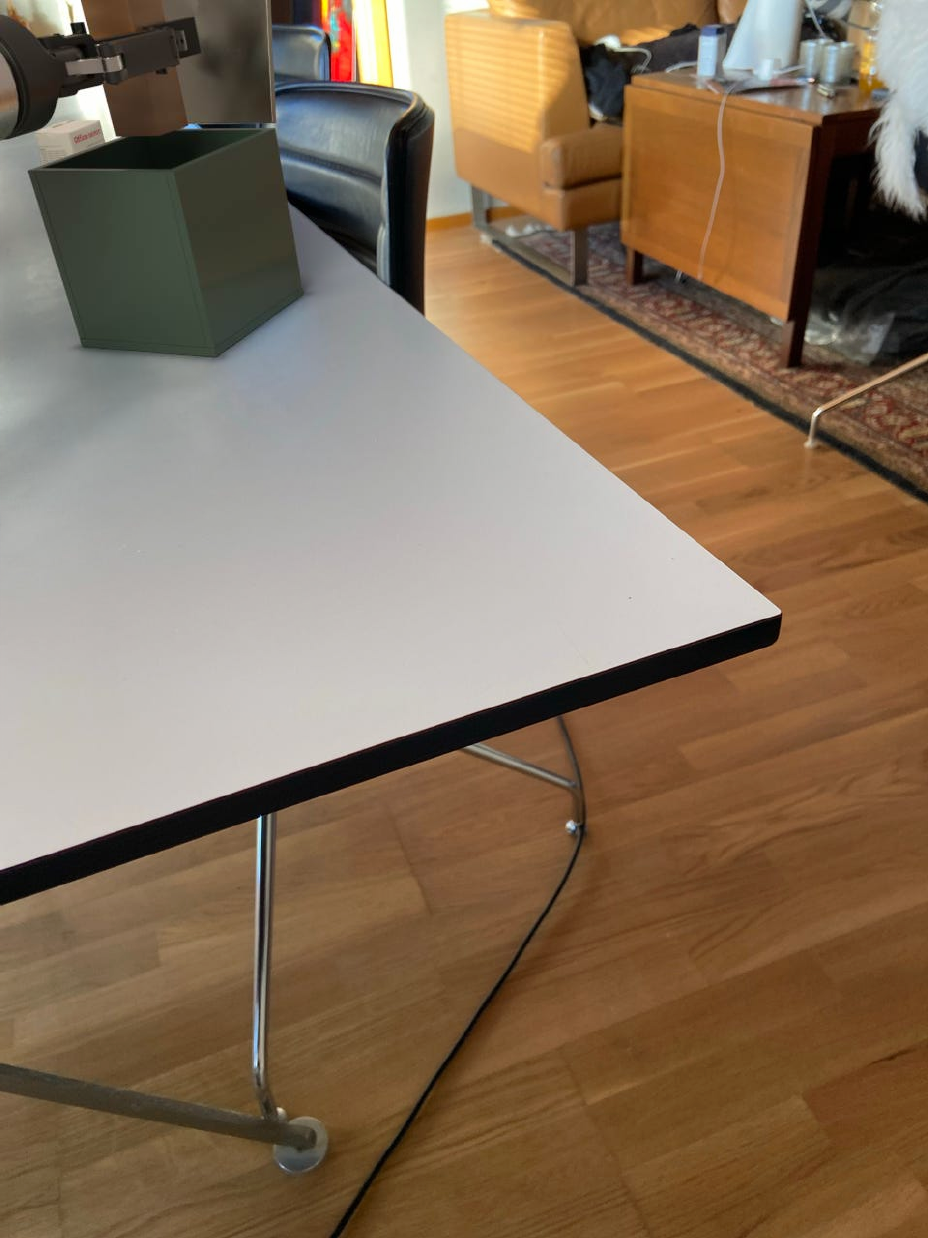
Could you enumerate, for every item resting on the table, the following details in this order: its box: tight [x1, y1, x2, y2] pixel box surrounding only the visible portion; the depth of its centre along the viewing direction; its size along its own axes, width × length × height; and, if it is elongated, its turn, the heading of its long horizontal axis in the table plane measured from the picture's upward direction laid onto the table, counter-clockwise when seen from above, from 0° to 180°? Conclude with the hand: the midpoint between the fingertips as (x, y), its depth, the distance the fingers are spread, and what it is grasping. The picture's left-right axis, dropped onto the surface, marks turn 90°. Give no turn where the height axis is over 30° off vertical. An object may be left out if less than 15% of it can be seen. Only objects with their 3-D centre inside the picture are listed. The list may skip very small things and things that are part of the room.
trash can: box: [27, 127, 304, 358], centre depth 91 cm, size 17×15×15 cm
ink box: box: [33, 119, 106, 165], centre depth 125 cm, size 9×5×12 cm, turn 170°
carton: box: [80, 0, 189, 138], centre depth 82 cm, size 4×4×11 cm
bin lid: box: [161, 0, 277, 125], centre depth 89 cm, size 18×15×1 cm
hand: (168, 36), depth 85 cm, fingers closed on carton, 4 cm apart
